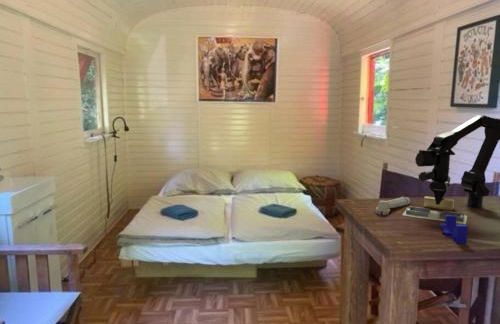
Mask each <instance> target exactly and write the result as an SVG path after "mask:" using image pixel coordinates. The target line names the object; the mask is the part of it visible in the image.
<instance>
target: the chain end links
mask: <svg viewBox="0 0 500 324" xmlns="http://www.w3.org/2000/svg"><path fill="white" fill-rule="evenodd" d="M407 208H408V210H406V209H405V210H406V214H411V215H418V216H425V217H428V213H430V211H431V208H429V207H419V206H411V205H409V206H408V207H407ZM440 212H441V214H440V215H439V219H445V216H446V215H455V216H456V221H460V222H463V218H464V215H465V213H464V212H458V211H457V212H456V211H452V210H445V209H440Z"/></svg>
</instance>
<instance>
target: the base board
mask: <svg viewBox="0 0 500 324" xmlns="http://www.w3.org/2000/svg"><path fill="white" fill-rule="evenodd" d="M408 208H409V207H406V209H405V210H404V212H403V213H402V216H406V217H412V218H419V219H426V220H434V221H439V222H440V221H441V222H445V219H439V215H440V214H441V211H435V210H430V213H428V217H425V216H418V215H411V214H406V210H408ZM467 219H468V215H465V214H464V218H463V222H460V221H456V224H459V225H466V224H467Z"/></svg>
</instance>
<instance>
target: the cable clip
mask: <svg viewBox="0 0 500 324" xmlns="http://www.w3.org/2000/svg"><path fill="white" fill-rule="evenodd" d="M439 228H440V229H441V230H442V235H443V236H445V237H449V238H451V240H453V242H454V243H456V244H465V245H466V244H467V240H468V239H467V238H468V228H469V227H468V225H466V224H458V223H456V216H455V215H446V216H445V221H444V222H440V224H439Z"/></svg>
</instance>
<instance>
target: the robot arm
mask: <svg viewBox="0 0 500 324" xmlns="http://www.w3.org/2000/svg"><path fill="white" fill-rule="evenodd" d="M479 128H484V130H483V131H484V137H485V138H484V139H483V142H482V145H481V146H480V149H479V151H478V153H477V156H476V158H475V159H474V163H473V165H472V167H471V169H470V170H468V171H467V170H465V171H463V174H462V177H461V178H460V184H461V187H462V189H463V192H465V193H467V201H466V204H465V207H466V208H472V209H473V208H474V209H481V210H484V208H485V207H484V205H483V204H484V197H488V196H489V195H490V189H488V187H487V186H486V185H485V184H486V182H487V181H486V174H485V173H486V172H487V171H486V170H487V168H488V166H489V163H490V161H491V159H492V157H493V155H494V153H495V150H496V148H497V145H498V144H499V141H500V118H495V117H491V116H487V115H484V114H483V115H482V114H477V115H475V116H473V118H471V119H469V120H467V121H466V122H464V123H463V124H461V125H459V126H457V127H456V128H455V129H452V130H451V131H448V132H443V133H440V134H437V135H435V136H434V137H433V141H432V142H431V144H430V145H429V146H428V148H427V149H426V150H425V149H420V150H418V152H417V154H416V156H415V164H416V166H417V167H432V169H431V170H427V171H426V170H425V171H421V172H420V173H418V175H417V176H418V180H419V182H420V183H422V182H424V181H430V180H431V182H430V183H429V187H428V188H429V190H430V191H431V192H432V193H433V195H434V196H433V197H435V201H436V205H439V204H440V202H441V200H442V198H444V196H445V194H446V193H447V190H448V188H449V186H450V183H451V177H450V175H449V173H450V161H451V156H455V155H456V153H455V152H454V151H453V148H454V147H456V146H457V144H458V142H459V141H461V139H464V138H465V137H467V136H468V135H470V134H472V133H473V132H474V131H476V130H477V129H479Z"/></svg>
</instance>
